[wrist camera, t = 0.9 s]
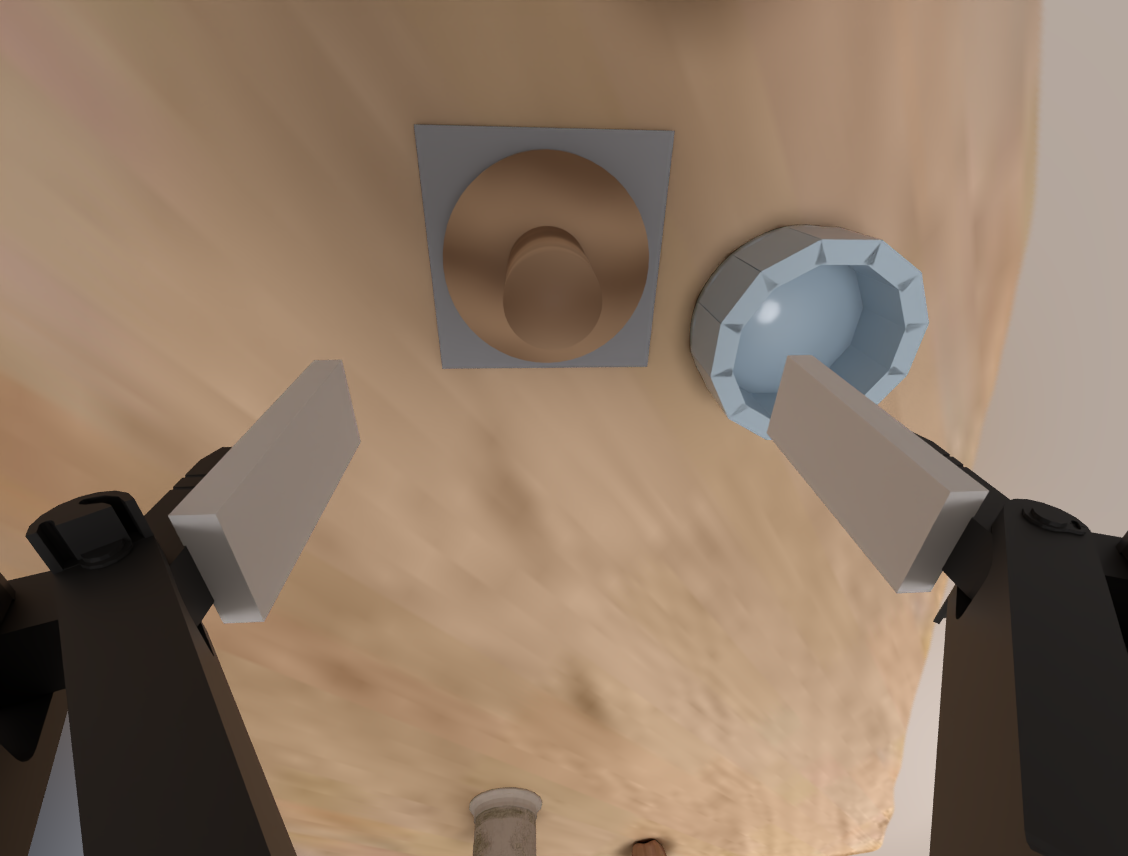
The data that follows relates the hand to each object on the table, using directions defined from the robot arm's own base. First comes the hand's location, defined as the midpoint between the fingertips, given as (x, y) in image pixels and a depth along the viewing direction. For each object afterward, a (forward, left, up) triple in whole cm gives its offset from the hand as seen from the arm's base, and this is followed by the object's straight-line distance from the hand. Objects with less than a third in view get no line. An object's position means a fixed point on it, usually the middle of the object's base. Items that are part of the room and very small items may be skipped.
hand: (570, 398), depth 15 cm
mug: (+74, -7, -18) cm, 76 cm away
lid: (0, 0, -18) cm, 18 cm away
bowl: (+4, +16, -18) cm, 24 cm away
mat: (0, 0, -18) cm, 18 cm away
